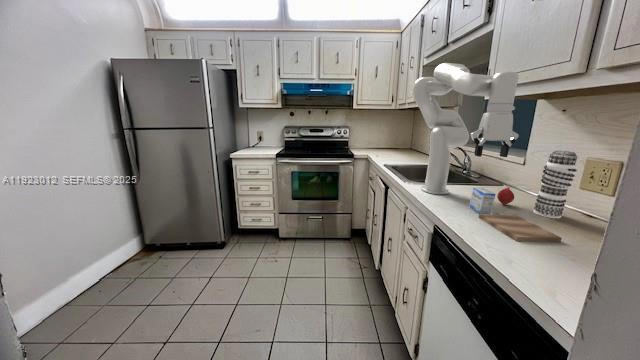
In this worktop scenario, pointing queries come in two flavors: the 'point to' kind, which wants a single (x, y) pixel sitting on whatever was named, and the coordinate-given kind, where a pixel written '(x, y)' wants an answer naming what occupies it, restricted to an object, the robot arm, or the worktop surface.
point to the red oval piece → (505, 196)
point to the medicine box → (482, 201)
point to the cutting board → (519, 228)
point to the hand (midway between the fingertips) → (490, 156)
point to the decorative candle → (555, 184)
